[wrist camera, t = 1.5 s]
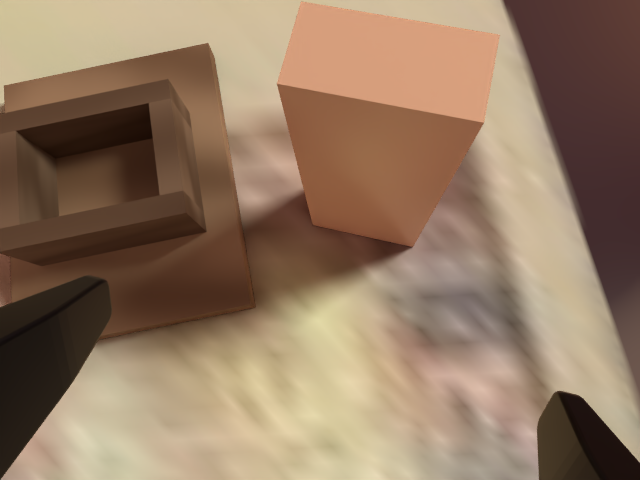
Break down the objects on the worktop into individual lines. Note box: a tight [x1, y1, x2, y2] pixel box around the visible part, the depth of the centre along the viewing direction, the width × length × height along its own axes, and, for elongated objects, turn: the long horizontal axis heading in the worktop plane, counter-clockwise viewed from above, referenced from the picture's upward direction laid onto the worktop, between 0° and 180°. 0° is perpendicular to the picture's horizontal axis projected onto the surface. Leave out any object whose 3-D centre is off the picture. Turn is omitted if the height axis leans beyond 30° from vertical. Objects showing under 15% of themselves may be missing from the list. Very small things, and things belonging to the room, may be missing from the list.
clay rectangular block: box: [277, 2, 500, 247], centre depth 18 cm, size 2×5×12 cm, turn 76°
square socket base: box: [0, 43, 255, 340], centre depth 23 cm, size 14×11×4 cm
